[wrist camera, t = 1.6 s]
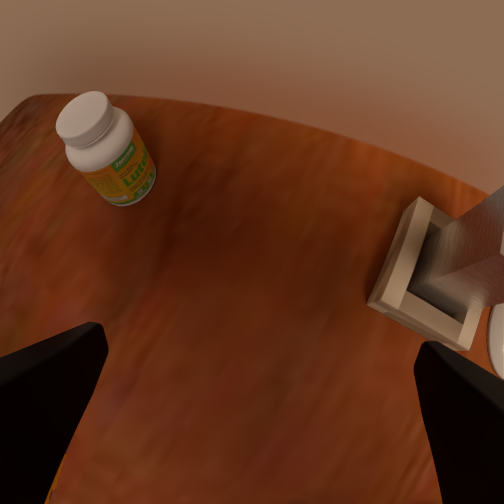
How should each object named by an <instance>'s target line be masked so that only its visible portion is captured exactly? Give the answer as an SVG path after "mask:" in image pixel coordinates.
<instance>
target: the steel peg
mask: <svg viewBox="0 0 504 504" xmlns="http://www.w3.org/2000/svg"><path fill="white" fill-rule="evenodd" d="M406 291H408V292H410V293H411V294H413V295H415V296H416V297H418V298H420V299H421V300H423V301H425V302H426V303H428V304H430V305H431V306H433V307H435V308H436V309H438V310H440V311H441V312H443V313H445V314H452V313H458V312H463V311H468V310H474V309H479V308H484V307H488V306H493V305H498V304H502V303H504V186H503V187H501V188H500V189H499V190H497V191H496V192H495V193H493V194H492V195H490V196H489V197H488V198H486V199H485V200H483V201H482V202H481V203H479V204H478V205H476V206H475V207H473V208H472V209H471V210H469V211H468V212H466V213H465V214H463V215H462V216H460V217H459V218H457V219H456V220H454V221H453V222H451V223H450V224H448V225H447V226H445V227H444V228H442V229H441V230H439V231H438V232H436V233H435V234H433V235H432V236H430V237H429V238H427V239H425V240H424V241H423V244H422V247H421V250H420V253H419V256H418V259H417V261H416V264H415V267H414V270H413V273H412V275H411V278H410V281H409V283H408V286H407V289H406Z"/></svg>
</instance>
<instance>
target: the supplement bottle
mask: <svg viewBox="0 0 504 504" xmlns="http://www.w3.org/2000/svg"><path fill="white" fill-rule="evenodd" d="M56 130H57V133H58V135H59V136H60V137H61V138H62V140H63V141H64V142H65V143H66V155H67V158H68V160H69V162H70V163H71V164H72V165H73V167H74V168H75V169H76V170H77V171H78V172H79V173H80V174H81V175H82V176H83V177H84V178H85V179H86V180H87V181H88V182H89V183H90V184H91V185H92V186H93V187H94V188H95V189H96V190H97V191H98V192H99V194H100V195H101V196H102V197H103V198H104V199H105V200H107V201H108V202H109V203H111V204H113V205H116V206H128V205H132V204H134V203H137V202H138V201H140V200H141V199H143V198H144V197H145V196H146V195H147V194H148V193H149V191H150V190H151V188H152V187H153V184H154V182H155V178H156V168H155V165H154V162H153V160H152V158H151V156H150V155H149V153H148V151H147V149H146V147H145V145H144V143H143V142H142V140H141V138H140V136H139V134H138V132H137V130H136V128H135V126H134V124H133V122H132V121H131V119H130V117H129V116H128V114H127V113H126V112H125V111H123V110H122V109H119V108H117V107H112V105H111V103H110V102H109V100H108V98H107V97H106V95H105V94H103V93H102V92H98V91H91V92H87V93H84V94H82V95H80V96H78V97H76V98H75V99H73V100H72V101H71V102H69V103H68V104H67V105H66V106H65V108H64V109H63V110H62V112H61V113H60V115H59V117H58V119H57V122H56Z"/></svg>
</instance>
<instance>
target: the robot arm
mask: <svg viewBox="0 0 504 504" xmlns="http://www.w3.org/2000/svg"><path fill="white" fill-rule="evenodd" d="M108 350H109V349H108V343H107V340H106V336H105V332H104V329H103V326H102V325H101V324H99V323H94V322H87V323H84V324H82V325H80V326H77V327H75V328H72V329H70V330H67V331H65V332H62V333H60V334H58V335H55V336H53V337H50V338H48V339H45V340H43V341H40V342H38V343H36V344H33V345H31V346H28V347H26V348H23V349H21V350H18V351H16V352H13V353H11V354H9V355H6V356H4V357H1V358H0V504H45V501H46V499H47V496H48V493H49V491H50V488H51V486H52V483H53V481H54V479H55V476H56V474H57V471H58V469H59V467H60V464H61V462H62V460H63V457H64V455H65V453H66V450H67V448H68V446H69V444H70V441H71V439H72V437H73V435H74V433H75V430H76V428H77V426H78V424H79V422H80V420H81V418H82V416H83V413H84V411H85V409H86V407H87V405H88V403H89V401H90V399H91V397H92V395H93V392H94V390H95V387H96V384H97V382H98V379H99V376H100V374H101V371H102V368H103V366H104V363H105V361H106V358H107V355H108ZM414 376H415V381H416V386H417V391H418V396H419V402H420V407H421V413H422V417H423V421H424V425H425V428H426V432H427V436H428V439H429V443H430V447H431V451H432V455H433V459H434V464H435V468H436V473H437V477H438V482H439V487H440V492H441V497H442V502H443V504H504V381H503V380H501V379H500V378H498V377H496V376H495V375H493V374H491V373H490V372H488V371H486V370H485V369H483V368H481V367H480V366H478V365H477V364H475V363H473V362H472V361H470V360H468V359H467V358H465V357H463V356H462V355H460V354H458V353H457V352H455V351H453V350H452V349H450V348H448V347H447V346H445V345H443V344H442V343H440V342H438V341H425V342H423V343H422V345H421V347H420V350H419V353H418V356H417V358H416V361H415V364H414Z"/></svg>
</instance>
